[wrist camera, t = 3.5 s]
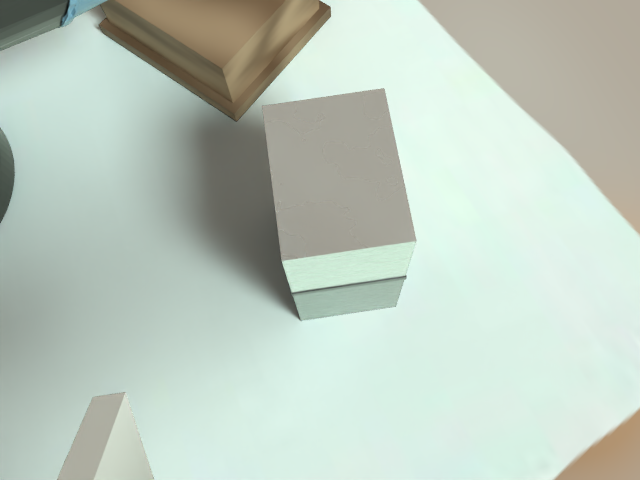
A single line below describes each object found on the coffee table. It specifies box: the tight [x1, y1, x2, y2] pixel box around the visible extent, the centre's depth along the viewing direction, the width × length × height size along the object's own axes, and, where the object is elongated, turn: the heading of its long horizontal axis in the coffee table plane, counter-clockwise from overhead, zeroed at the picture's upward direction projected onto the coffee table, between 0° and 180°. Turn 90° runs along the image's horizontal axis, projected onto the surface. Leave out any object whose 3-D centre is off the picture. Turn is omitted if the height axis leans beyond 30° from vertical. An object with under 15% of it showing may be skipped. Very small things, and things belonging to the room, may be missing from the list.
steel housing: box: [262, 88, 416, 321], centre depth 34 cm, size 6×8×12 cm
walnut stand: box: [99, 0, 331, 121], centre depth 44 cm, size 11×13×5 cm
